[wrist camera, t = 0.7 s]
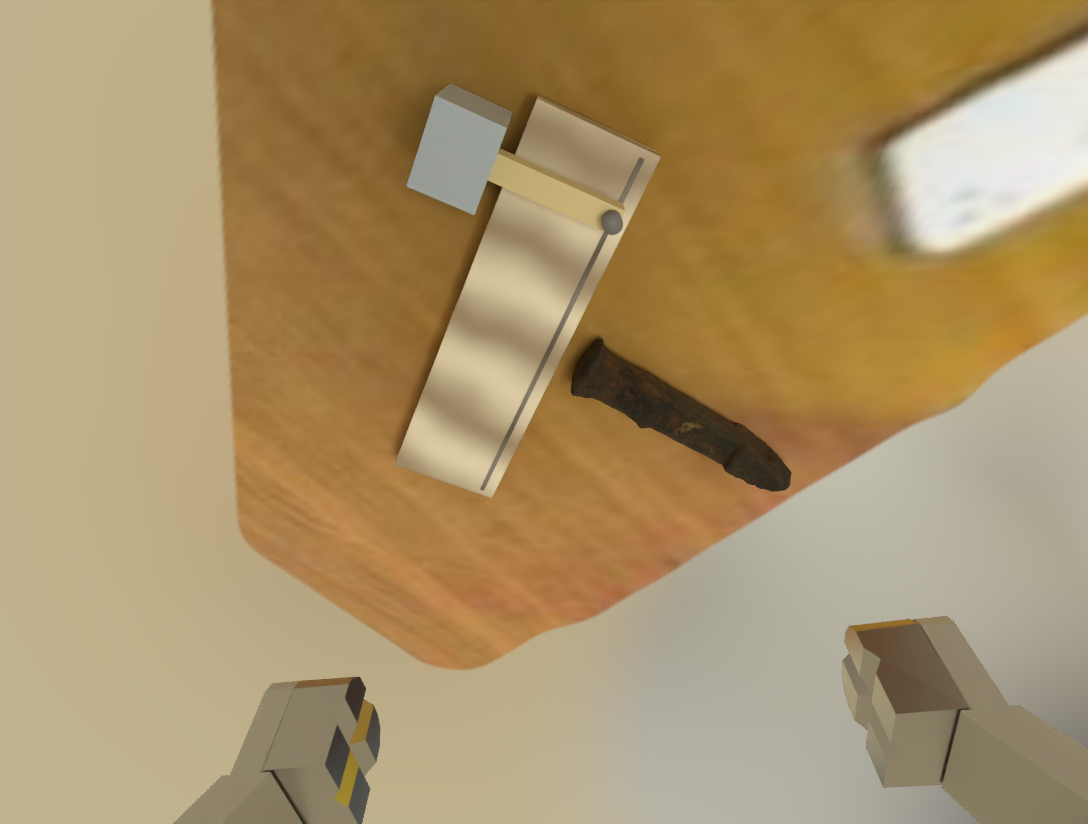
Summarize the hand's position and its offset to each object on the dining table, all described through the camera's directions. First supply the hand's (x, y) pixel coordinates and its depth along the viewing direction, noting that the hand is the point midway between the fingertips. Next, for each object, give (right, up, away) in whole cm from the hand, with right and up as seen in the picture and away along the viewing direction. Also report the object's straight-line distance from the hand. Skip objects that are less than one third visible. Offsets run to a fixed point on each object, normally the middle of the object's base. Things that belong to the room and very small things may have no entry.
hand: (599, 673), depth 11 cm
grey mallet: (-2, +20, +31) cm, 37 cm away
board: (-3, +11, +37) cm, 38 cm away
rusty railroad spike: (+10, +5, +41) cm, 42 cm away
